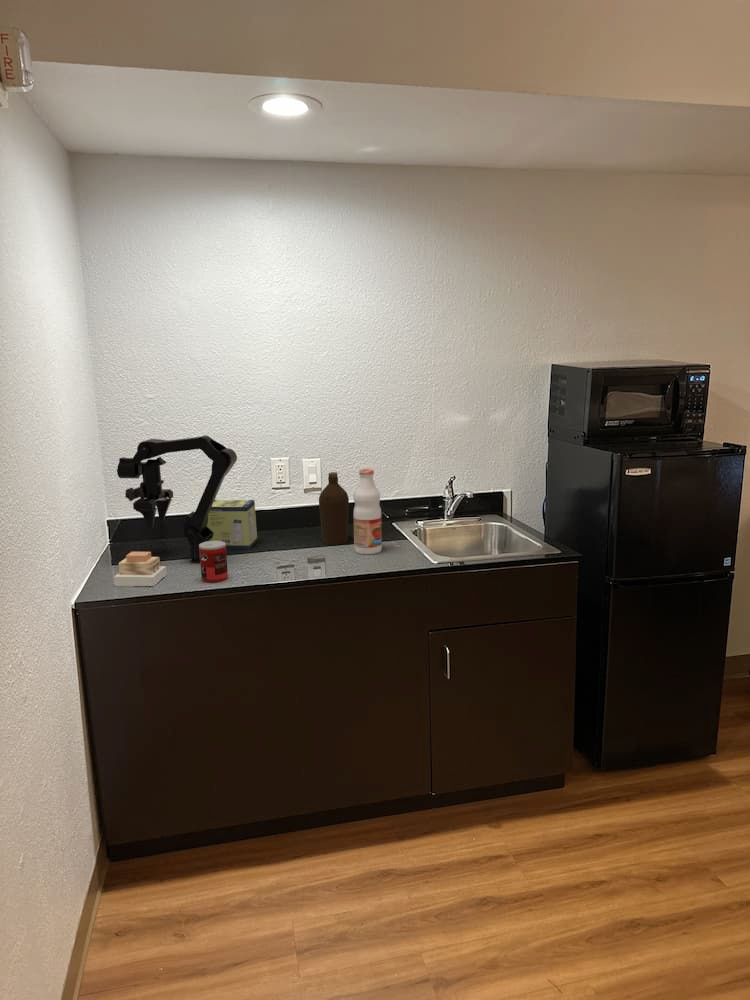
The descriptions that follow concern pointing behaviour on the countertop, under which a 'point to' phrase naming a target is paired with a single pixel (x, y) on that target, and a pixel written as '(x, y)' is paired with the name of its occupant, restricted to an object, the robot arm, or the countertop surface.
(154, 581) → the white flat block
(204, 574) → the canned food
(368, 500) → the fruit juice
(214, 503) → the protein box
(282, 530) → the countertop surface
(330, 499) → the olive oil
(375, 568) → the countertop surface
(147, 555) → the block
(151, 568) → the pallet
